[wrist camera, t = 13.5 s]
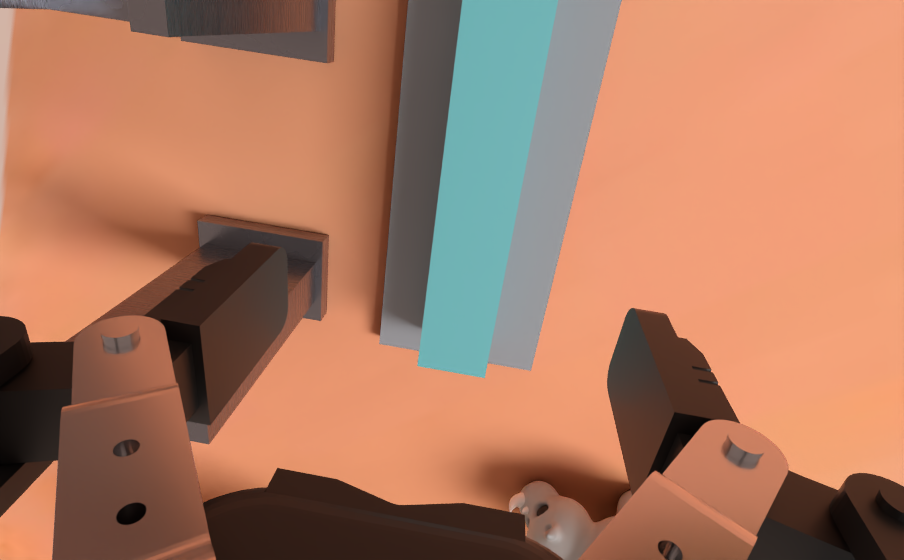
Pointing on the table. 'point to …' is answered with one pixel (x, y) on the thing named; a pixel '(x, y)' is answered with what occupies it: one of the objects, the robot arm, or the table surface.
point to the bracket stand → (244, 28)
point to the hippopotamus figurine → (559, 519)
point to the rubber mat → (544, 184)
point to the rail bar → (482, 175)
